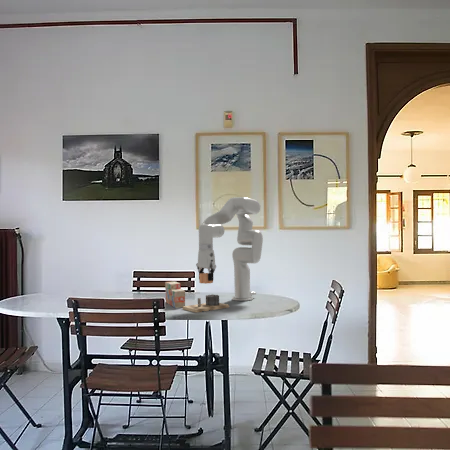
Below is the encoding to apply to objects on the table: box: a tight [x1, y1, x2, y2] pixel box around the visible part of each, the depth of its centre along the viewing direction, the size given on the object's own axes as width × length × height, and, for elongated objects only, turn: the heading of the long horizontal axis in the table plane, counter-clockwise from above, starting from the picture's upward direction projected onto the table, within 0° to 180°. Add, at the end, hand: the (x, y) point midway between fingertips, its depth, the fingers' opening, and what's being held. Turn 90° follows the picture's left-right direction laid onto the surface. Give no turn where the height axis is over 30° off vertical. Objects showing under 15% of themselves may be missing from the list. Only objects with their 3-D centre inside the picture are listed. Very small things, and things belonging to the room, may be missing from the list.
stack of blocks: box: [164, 281, 186, 309], centre depth 277 cm, size 21×6×12 cm, turn 21°
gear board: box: [182, 294, 230, 313], centre depth 263 cm, size 22×13×7 cm, turn 128°
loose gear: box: [198, 272, 214, 285], centre depth 260 cm, size 7×7×5 cm
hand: (206, 279), depth 260 cm, fingers closed on loose gear, 7 cm apart
